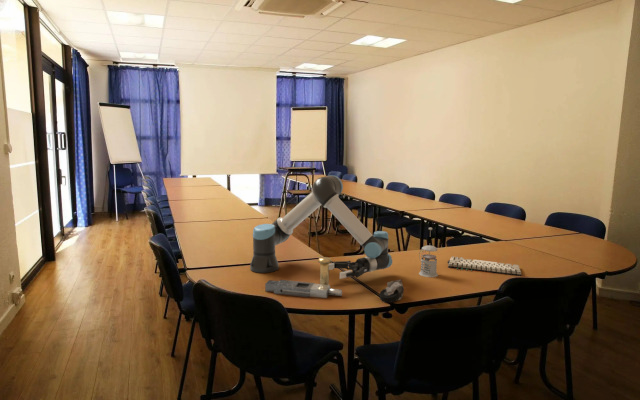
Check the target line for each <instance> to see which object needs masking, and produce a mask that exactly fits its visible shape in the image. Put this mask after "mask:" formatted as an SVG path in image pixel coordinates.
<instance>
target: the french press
mask: <svg viewBox="0 0 640 400" xmlns="http://www.w3.org/2000/svg"><path fill="white" fill-rule="evenodd" d="M428 230H429V236H431V232H432V230H433V227H428ZM438 250H439V249H438V248H437V247H436V246H434V245H431V244H429V245H424V246H422V247H421V250H420V251H419V253H418V254H419V255H418V258H419V261H420V262H421V265H420V271H419V273H418V275H420V276H421V277H424V278H425V277H426V278H437V277H438V276H439V274H438V273H437V268H438V267H437V264H438V260H437V256H436V255H435V254H431V252H437V251H438ZM426 252H428V253H427V254H426ZM421 253H425V254H421ZM420 255H421V256H420Z"/></svg>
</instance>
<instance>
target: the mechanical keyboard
mask: <svg viewBox="0 0 640 400" xmlns="http://www.w3.org/2000/svg"><path fill="white" fill-rule="evenodd" d="M447 264H448V266H447V269H449V270H454V271H455V270H456V271H463V272H465V271H466V272H472V273H474V272H475V273H483V274H484V273H485V274H493V275H495V274H497V275H505V276H506V275H507V276H513V277H514V276H516V277H522V271H521V269H520V265H519V264H512V263H504V262H497V261H490V260H481V259H470V258H464V257H461V256H460V257H459V256H453V255H452V256H451V257H450V259H449V260H447Z"/></svg>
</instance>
